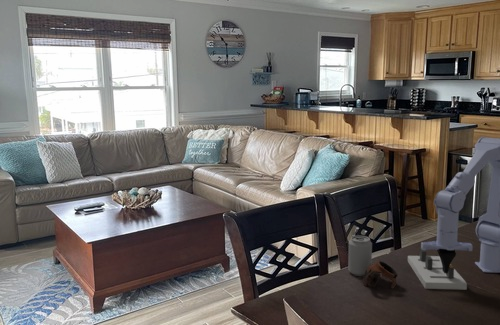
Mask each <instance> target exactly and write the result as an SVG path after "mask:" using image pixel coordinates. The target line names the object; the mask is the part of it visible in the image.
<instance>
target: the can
mask: <svg viewBox="0 0 500 325" xmlns="http://www.w3.org/2000/svg"><path fill="white" fill-rule="evenodd" d="M372 254H373V242H372V241H371V238H370V237H368V236H366V235H353V236H351V237H350V240H349V241H348V257H347V258H348V263H347V264H348V268H347V270H348V272H349V273H350V274H351V275H353V276H357V277H364V275H365V272H366V270H367V268H368V267H369V266H370V265H372V262H373V261H372V260H373V256H372Z"/></svg>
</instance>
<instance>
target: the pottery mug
mask: <svg viewBox="0 0 500 325" xmlns="http://www.w3.org/2000/svg"><path fill="white" fill-rule="evenodd" d="M381 276H382V277H384V278H385V279H389V280H390V281H391V282H392V283H391V286H390V288H391V289H392V290H393V289H394V287H395V286H396V284H397V277H398V273H397V271H396V270H395V269H394V268H393V267H392V266H390V265H389V264H388V263H385V262H384V261H381V260H377V261H376V263H373V264H372V265H370V266H369V267H368V268H367V270H366V272H365V275H364V276H363V278H362V284H363V285H364V286H365V287H366V288H367V287H369V288H375V287H376V285H377V282H378V281H379V280H380V278H381Z"/></svg>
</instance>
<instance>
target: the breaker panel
mask: <svg viewBox="0 0 500 325" xmlns="http://www.w3.org/2000/svg"><path fill="white" fill-rule="evenodd" d="M407 262H408V264H409V266H410V267H411V268H412V270H413V272H414V274H415V275H416V277H417V278H418V279H419V281H420V283H421V284H422V286H423V287H424V289H425V290H426V289H427V290H428V289H430V290H433V289H434V290H459V291H461V290H463V291H464V290H466V291H467V289H468V283H467V282H466V280H465V279H464V278H463V277H462V275H461V274H460V273H459V272H458V271H457V270H456V269H455V268H454V278H448V276H447V275H446V273H444V272H443V268H442V267H443V266H442V262H441V259H440V256H439V255H437V256H436V255H427V250H422V249H421V248H419V255H407Z"/></svg>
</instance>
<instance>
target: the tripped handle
mask: <svg viewBox="0 0 500 325" xmlns="http://www.w3.org/2000/svg"><path fill="white" fill-rule="evenodd" d="M454 269H455V267H454V266H453V265H452V264H451V263H450V266H449V268H448V273H446V275H447V276H448V278H454Z"/></svg>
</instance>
